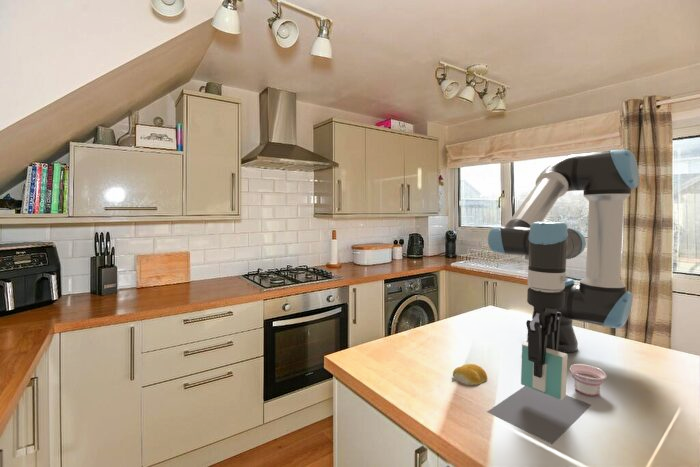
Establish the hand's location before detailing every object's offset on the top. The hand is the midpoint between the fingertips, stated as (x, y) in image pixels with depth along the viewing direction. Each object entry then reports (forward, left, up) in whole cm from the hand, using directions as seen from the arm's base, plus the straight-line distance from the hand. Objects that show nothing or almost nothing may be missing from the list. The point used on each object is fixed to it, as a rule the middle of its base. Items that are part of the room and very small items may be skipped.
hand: (542, 386), depth 81 cm
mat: (0, -1, -6) cm, 6 cm away
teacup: (+4, +16, -6) cm, 18 cm away
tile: (0, 0, -1) cm, 1 cm away
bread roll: (-19, -1, -6) cm, 20 cm away
